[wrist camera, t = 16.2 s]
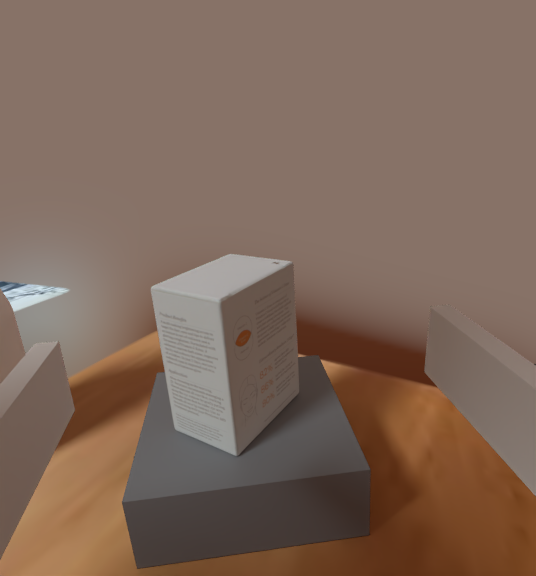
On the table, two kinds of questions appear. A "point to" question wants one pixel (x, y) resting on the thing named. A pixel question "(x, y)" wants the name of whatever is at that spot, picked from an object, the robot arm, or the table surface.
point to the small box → (228, 347)
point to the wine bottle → (8, 339)
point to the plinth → (248, 481)
